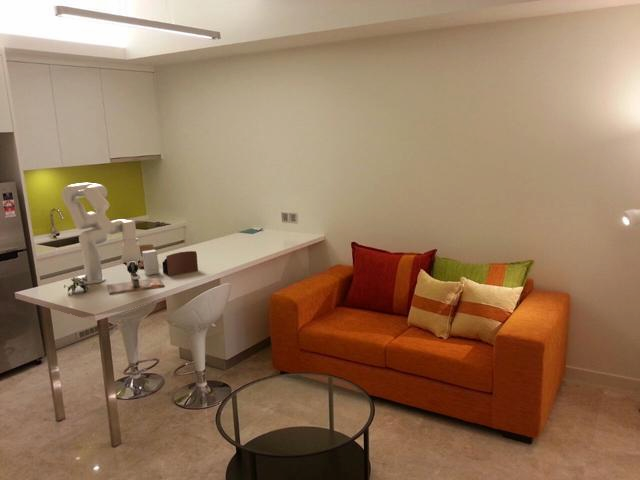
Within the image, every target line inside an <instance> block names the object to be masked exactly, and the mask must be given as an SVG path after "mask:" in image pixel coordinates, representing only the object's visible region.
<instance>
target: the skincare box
mask: <svg viewBox="0 0 640 480" xmlns="http://www.w3.org/2000/svg"><path fill="white" fill-rule="evenodd" d="M142 255H143V259H144V260H143V263H144V267H143V270H144V274H145V275H146V276H151V275H155V274H160V269H159V260H158V258H159V257H158V252H157V250H156V249H154V250H149V251H143V252H142Z"/></svg>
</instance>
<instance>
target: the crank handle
mask: <svg viewBox="0 0 640 480" xmlns="http://www.w3.org/2000/svg"><path fill="white" fill-rule="evenodd" d="M135 264H136V262H135V261H129V266H130V273H129V274H130V277H131V276H132V280H141V277H140V276H141V275H139V274H137V273H138V272H136V268H135Z"/></svg>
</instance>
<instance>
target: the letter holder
mask: <svg viewBox="0 0 640 480" xmlns="http://www.w3.org/2000/svg"><path fill="white" fill-rule="evenodd" d="M197 253H198V252H197V251H195V250H192V251H191V250H190V251H189V250H188V251H179V252H175V253H173V254H168V255H166V258H165V259H164V260H163V261H162V264H161V265H162V274H164V275H165V276H167V277H172V276H179V275H183V274H189V273H194V272H195V273H196V272H198V271H199V265H198V254H197Z"/></svg>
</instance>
